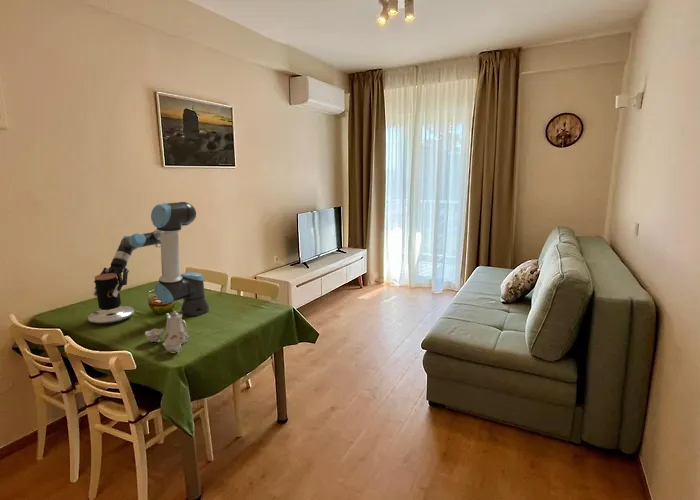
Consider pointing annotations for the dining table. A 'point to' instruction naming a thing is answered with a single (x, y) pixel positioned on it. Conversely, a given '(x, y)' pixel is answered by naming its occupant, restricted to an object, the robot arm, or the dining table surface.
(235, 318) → the dining table surface
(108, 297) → the coffee jar
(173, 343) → the chinaware
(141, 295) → the dining table surface
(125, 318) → the turntable base
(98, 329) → the dining table surface
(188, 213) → the robot arm
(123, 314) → the disc
